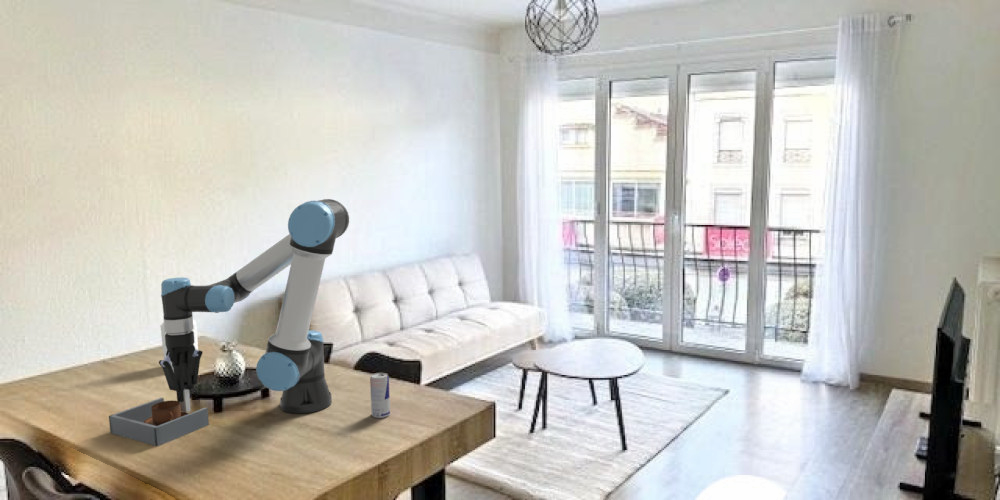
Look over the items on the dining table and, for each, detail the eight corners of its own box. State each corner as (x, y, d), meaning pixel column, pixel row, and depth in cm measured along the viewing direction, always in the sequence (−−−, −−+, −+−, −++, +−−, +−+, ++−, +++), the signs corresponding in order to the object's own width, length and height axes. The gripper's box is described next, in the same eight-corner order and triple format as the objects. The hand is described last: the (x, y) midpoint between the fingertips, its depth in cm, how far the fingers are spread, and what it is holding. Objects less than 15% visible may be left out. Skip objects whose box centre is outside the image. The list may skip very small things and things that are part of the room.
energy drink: (393, 412, 197) (391, 373, 195) (385, 419, 192) (383, 378, 190) (376, 410, 198) (375, 371, 197) (368, 417, 193) (366, 377, 191)
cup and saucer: (199, 422, 192) (198, 401, 191) (161, 437, 181) (159, 415, 181) (173, 415, 198) (171, 395, 197) (134, 429, 187) (132, 408, 186)
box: (208, 424, 189) (207, 407, 189) (157, 446, 175) (156, 428, 175) (162, 413, 198) (161, 397, 198) (110, 433, 184) (108, 415, 184)
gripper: (190, 325, 198) (195, 401, 201) (149, 335, 187) (156, 416, 190) (207, 328, 195) (213, 405, 198) (167, 338, 183) (174, 420, 186)
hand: (185, 410), depth 194 cm, fingers closed
